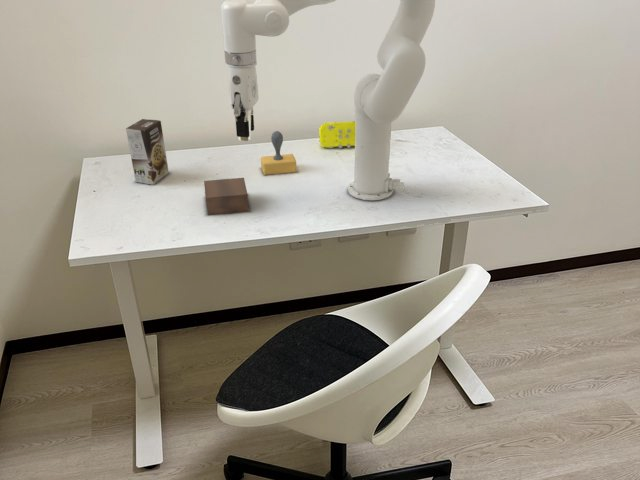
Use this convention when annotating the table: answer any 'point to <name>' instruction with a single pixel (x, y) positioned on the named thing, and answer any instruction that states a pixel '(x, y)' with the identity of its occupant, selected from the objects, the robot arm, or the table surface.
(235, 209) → the brown square block
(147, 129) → the coffee box
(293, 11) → the robot arm
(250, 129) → the milkshake
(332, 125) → the yellow toy chassis
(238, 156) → the table surface
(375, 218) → the table surface
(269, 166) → the rubber stamp
